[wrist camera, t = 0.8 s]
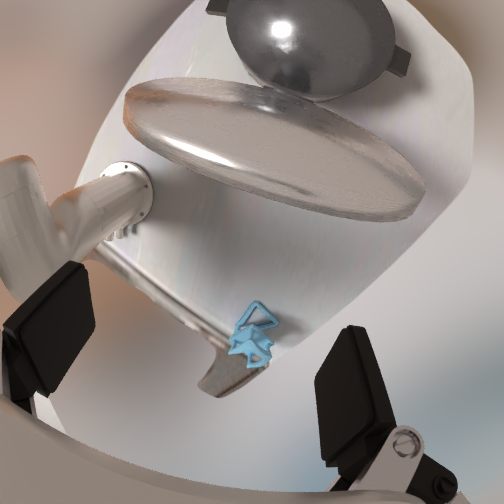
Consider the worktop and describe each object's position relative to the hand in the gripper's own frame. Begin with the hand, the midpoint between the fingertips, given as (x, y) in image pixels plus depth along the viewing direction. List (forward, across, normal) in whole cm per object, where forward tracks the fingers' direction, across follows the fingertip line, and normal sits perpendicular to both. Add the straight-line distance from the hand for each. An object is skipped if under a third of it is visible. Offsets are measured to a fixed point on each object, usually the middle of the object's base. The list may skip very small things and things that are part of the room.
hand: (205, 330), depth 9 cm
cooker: (+40, -3, -23) cm, 46 cm away
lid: (+15, -2, -8) cm, 18 cm away
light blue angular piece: (+40, -6, +32) cm, 52 cm away
